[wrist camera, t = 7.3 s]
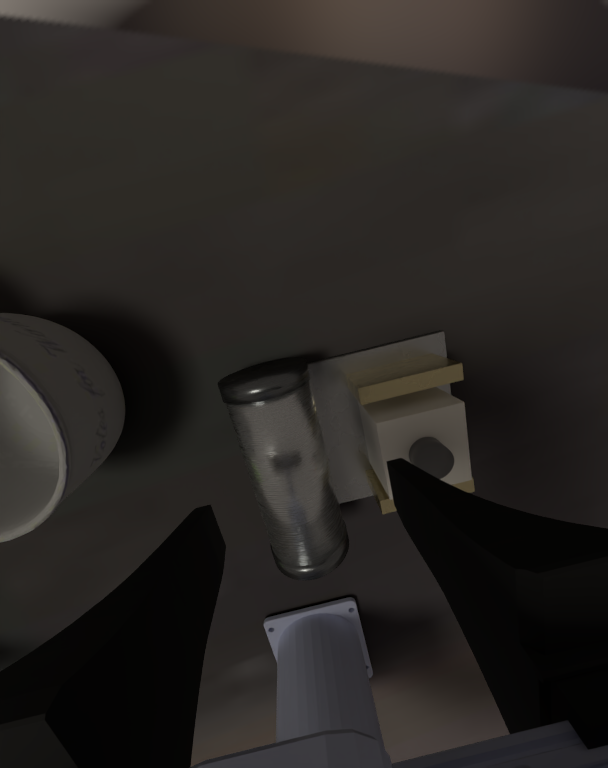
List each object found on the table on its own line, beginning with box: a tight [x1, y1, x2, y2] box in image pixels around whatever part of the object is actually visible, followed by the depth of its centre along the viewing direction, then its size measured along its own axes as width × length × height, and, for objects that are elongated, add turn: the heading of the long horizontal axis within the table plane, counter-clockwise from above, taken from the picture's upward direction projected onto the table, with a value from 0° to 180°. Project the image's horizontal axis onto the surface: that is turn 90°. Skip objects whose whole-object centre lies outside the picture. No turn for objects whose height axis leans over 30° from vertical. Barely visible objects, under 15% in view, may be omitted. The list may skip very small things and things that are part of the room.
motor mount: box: [218, 331, 475, 580], centre depth 19 cm, size 13×15×6 cm
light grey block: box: [358, 387, 472, 500], centre depth 19 cm, size 5×5×6 cm
